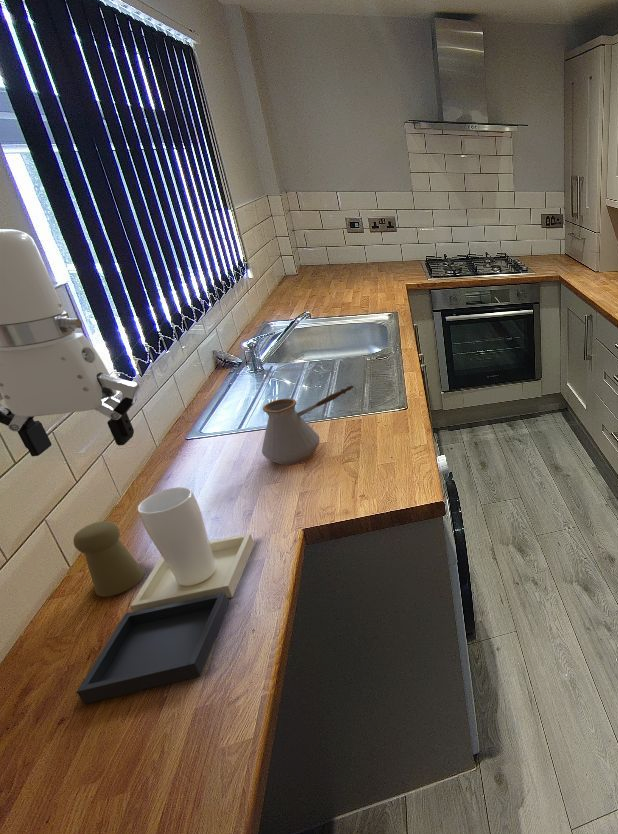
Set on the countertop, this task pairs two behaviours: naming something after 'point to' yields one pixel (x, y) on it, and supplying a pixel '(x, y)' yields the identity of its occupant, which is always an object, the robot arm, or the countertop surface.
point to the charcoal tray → (156, 648)
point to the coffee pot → (291, 430)
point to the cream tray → (224, 580)
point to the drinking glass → (179, 534)
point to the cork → (107, 559)
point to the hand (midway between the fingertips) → (84, 445)
